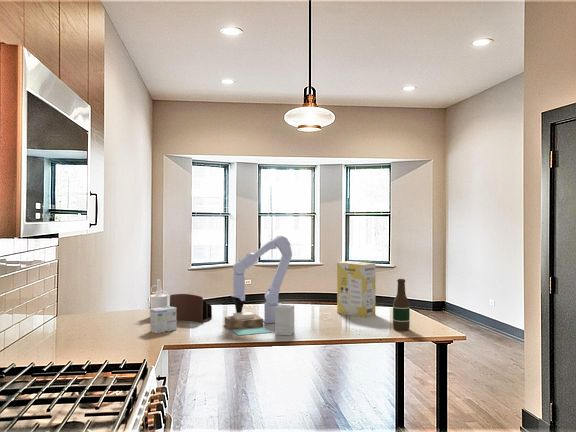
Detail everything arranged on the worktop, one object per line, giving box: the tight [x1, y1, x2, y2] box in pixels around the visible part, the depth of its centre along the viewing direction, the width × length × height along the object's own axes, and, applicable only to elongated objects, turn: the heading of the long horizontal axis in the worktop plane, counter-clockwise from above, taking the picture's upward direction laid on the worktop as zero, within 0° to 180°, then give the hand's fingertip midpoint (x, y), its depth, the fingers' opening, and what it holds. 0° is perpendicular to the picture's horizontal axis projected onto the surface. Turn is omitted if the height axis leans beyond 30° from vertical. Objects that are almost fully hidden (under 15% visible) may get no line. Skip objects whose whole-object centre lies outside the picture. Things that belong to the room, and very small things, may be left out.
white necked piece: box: [149, 279, 171, 309], centre depth 270 cm, size 10×9×20 cm
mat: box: [231, 326, 272, 337], centre depth 236 cm, size 16×11×1 cm
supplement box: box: [274, 304, 296, 336], centre depth 232 cm, size 7×7×13 cm
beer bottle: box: [392, 278, 411, 332], centre depth 240 cm, size 8×8×24 cm
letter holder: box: [169, 293, 213, 324], centre depth 263 cm, size 10×20×14 cm, turn 69°
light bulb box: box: [149, 305, 178, 334], centre depth 238 cm, size 11×7×11 cm, turn 134°
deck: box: [224, 313, 264, 331], centre depth 248 cm, size 16×12×4 cm
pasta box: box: [336, 260, 376, 319], centre depth 277 cm, size 18×10×28 cm, turn 44°
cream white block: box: [232, 311, 255, 320], centre depth 248 cm, size 9×6×2 cm, turn 112°
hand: (239, 312), depth 255 cm, fingers closed
